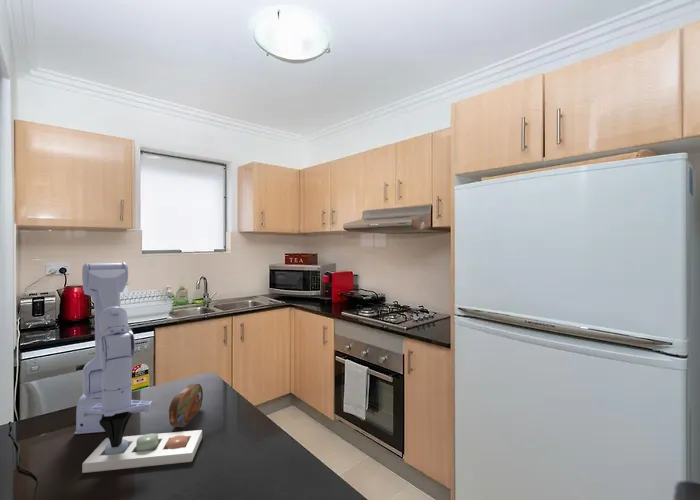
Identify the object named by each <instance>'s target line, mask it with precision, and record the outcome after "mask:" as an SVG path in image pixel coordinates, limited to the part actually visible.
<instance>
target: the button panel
mask: <svg viewBox="0 0 700 500" xmlns="http://www.w3.org/2000/svg"><path fill="white" fill-rule="evenodd" d="M156 434H157V435H158V447H157V448H156V450H153V451H143V452H136V441H137V439H138V438H139V437H141V436H143V435H144V434H137V435H129V436H128V435H126V436H123V439H125V440H127V441H128V448H127V450H126V451H125V452H124V453H122V454H112V455H105V446H106V445H107V444H109V443H110V440H109V438H108V437H106V438H105V439H104V440H102V441H101V442H100V443H99V445H97V447H96V448H95V449H94V450H93V452H92V453H91V454H90V455H89V456H88V457H87V458H86V459H85V460H84V461H83V462H82V466H81V468H82V471H81V472H82V474H84V473H85V474H86V473H94V472H95V473H96V472H104V471H106V472H107V471H113V470H114V471H115V470H124V469H135V468H143V467H144V468H145V467H153V466H162V465H163V466H164V465H173V464H181V463H183V464H184V463H191V462H193V460H194V458H195V455H196V453H197V452H198V451H197V450H198V448H199V446H200V444H201V441H202V439H203V430H202V429H196V430H187V431H186V430H183V431H174V432H162V433H161V432H160V433H156ZM179 435H184V436H186V437H187V438H188V440H187V446H186V447H185V448H174V449H167V441H168V440H169V439H170V438H172V437H175V436H179Z"/></svg>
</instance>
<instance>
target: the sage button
mask: <svg viewBox="0 0 700 500" xmlns="http://www.w3.org/2000/svg"><path fill="white" fill-rule="evenodd" d="M157 434H158V433H146V434H142V435H143V436H141V437H139V438H138V439H137V441H136V452H143V451H153V450H156V448H157V447H158V435H157Z"/></svg>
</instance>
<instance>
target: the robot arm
mask: <svg viewBox="0 0 700 500" xmlns="http://www.w3.org/2000/svg"><path fill="white" fill-rule="evenodd" d="M81 271H82V275H81V278H82V291H83V294H84V295H87V296H89V297H91V298H92V301H93V305H94V306H93V307H94V308H93V309H94V343H95V344H94V345H95V347H94V348H95V349H94V350H95V353H94V355H95V356H94V357H93V358H92V359H91V360H89V361H88V362H86V364H85V365H84V367H83V368H82V376H81V380H82V381H81V383H82V386H81V387H82V395H81V396H80V397H79V399H78V401H77V404H76V409H75V410H76V411H75V412H76V414H75V415H76V416H75V417H76V418H75V420H76V421H75V422H76V426H75V432H74V435H80V434H91V433H93V434H94V433H104V432H105V433H106V435H107V438H109V440H110V443H111V447H118V446H119V445H120V444H121V443H122V439H123V437H124V434H125V431H126V427H127V425H128V422H129V421H130V419H131V417H132V414H133V413H145V414H148V413H151V412H152V410H153V405H154V404H153V400H139V399H132V398H133V397H132V393H133V392H132V387H133V386H132V385H133V384H132V379H133V377H132V375H133V373H132V369H133V366H132V364H133V361H132V359H133V357H134V355H135V351H136V340H135V336H134V335H135V334H134V332H133V330H132V328H130V326H129V319H128V313H127V310H126V309H125V308H123V307H121V294H120V293H123V292H124V290H125V288H126V286H127V283H128V280H129V268H128V265H127V263H126V262H124V261H123V262H122V261H121V262H96V263H95V262H94V263H93V262H90V263H88V262H85V263H84V264H83V265H82V270H81ZM97 368H99V369H97Z"/></svg>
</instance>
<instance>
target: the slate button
mask: <svg viewBox="0 0 700 500" xmlns="http://www.w3.org/2000/svg"><path fill="white" fill-rule="evenodd" d="M127 448H128V441H127V440H125V439H122V443H121V444H120V445H119V446H118V447H111V443H109V444H107V445H106V446H105V455H112V454H122V453H124V452H125V451H126V450H127Z"/></svg>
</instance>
